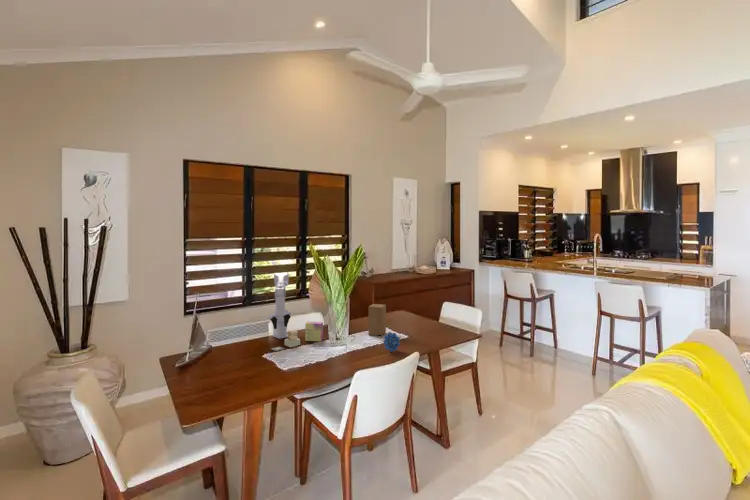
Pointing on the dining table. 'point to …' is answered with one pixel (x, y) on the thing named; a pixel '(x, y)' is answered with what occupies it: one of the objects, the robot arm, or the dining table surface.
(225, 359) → the dining table surface
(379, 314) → the wooden block
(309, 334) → the box
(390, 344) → the grapes
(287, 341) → the grey-green pedestal
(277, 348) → the tile
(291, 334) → the birch block
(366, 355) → the dining table surface
